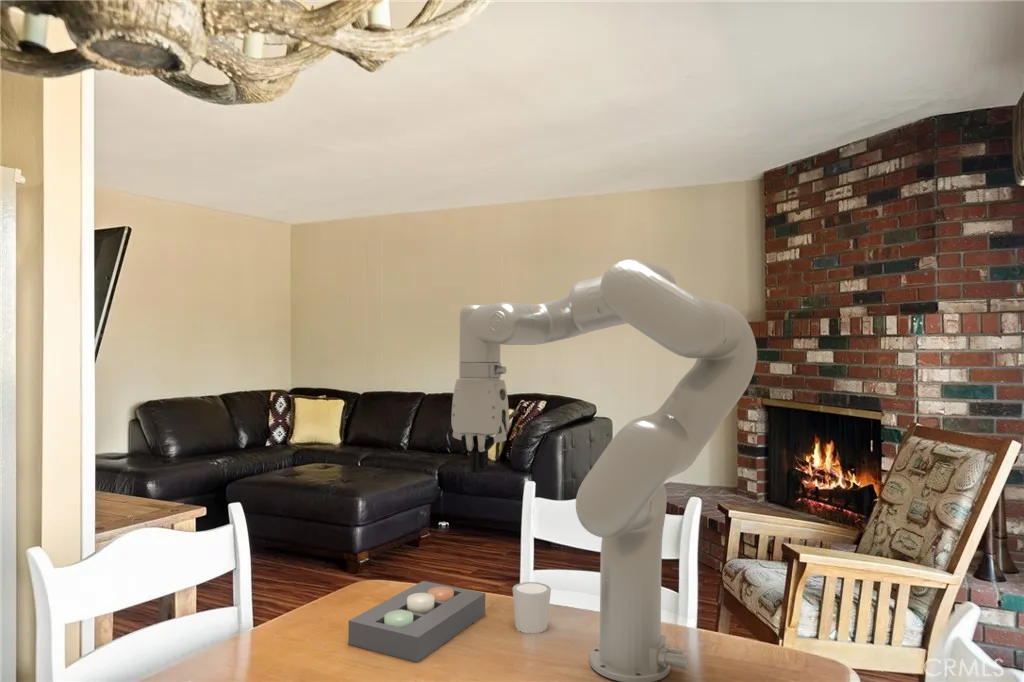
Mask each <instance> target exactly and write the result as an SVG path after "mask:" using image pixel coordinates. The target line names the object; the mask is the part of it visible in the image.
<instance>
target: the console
mask: <svg viewBox="0 0 1024 682" xmlns="http://www.w3.org/2000/svg"><path fill="white" fill-rule="evenodd" d="M434 587H449V588H452V589H453V590H454V597H453V598H451V599H450V600H448V601H446V602H443V601H438V600H434V609H433V610H432V611H430V612H428V613H427V614H420V613H416V612H412V613H413V622H412V623H410V624H409V625H407V626H406V627H404V628H399V627H395V626H391V625H387V624H384V616H385V614H386V613H388V612H391V611H395V610H406V611H407V597H408V596H409V595H411V594H415V593H428V590H429V589H431V588H434ZM410 612H411V611H410ZM482 616H483V617H484V616H486V593H485V592H480V591H476V590H473V589H466V588H462V587H461V588H460V587H455V586H451V585H447V584H441V583H435V582H432V581H431V582H430V581H425V580H422V581H420V582H418V583H416V584H414V585H413V586H410V587H409V588H407V589H405V590H404V591H401V592H400V593H397V594H396V595H394V596H392V597H390V598H388V599H386V600H385V601H383V602H380V603H378V604H377V605H375V606H373V607H371V608H370V609H367V610H366V611H364V612H363V613H362V612H361V614H358V615H356V616H355V617H352V618H350V619H349V620H348V631H347V632H348V641H347V642H348V646H353V647H357V648H360V649H364V650H367V651H372V652H375V653H379V654H383V655H386V656H389V657H390V656H391V657H395V658H399V659H402V660H406V661H410V662H413V663H417V664H418V663H420V661H422V660H424V659H425V658H427V657H428V656H430V655H431V654H432V653H433V652H435V651H436V650H438V649H439V648H441V647H442V646H443V645H445V644H446V643H448V642H449V641H450V640H452V639H453V638H454V636H455V635H456V636H457V635H459V634H460V633H461V631H462V632H463V631H464V630H465V628H466V629H467V628H468V626H469V625H470V626H472V623H473V622H474V623H476V622H477V621H478V620H480V619H481V618H482ZM479 618H480V619H479ZM476 620H477V621H476ZM475 621H476V622H475ZM474 623H473V624H474ZM470 626H469V627H470ZM458 633H459V634H458ZM456 636H455V637H456ZM451 638H452V639H451ZM448 640H449V641H448ZM447 641H448V642H447ZM445 642H446V643H445ZM444 643H445V644H444Z"/></svg>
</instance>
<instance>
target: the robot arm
mask: <svg viewBox="0 0 1024 682" xmlns="http://www.w3.org/2000/svg"><path fill="white" fill-rule="evenodd" d="M626 324H629V325H630V326H631V327H633V328H634V329H636V330H638V331H639V332H640V333H642V334H643V335H645V336H647V337H648V338H650V339H651V340H653V341H654V342H655V343H657V344H658V345H659V346H662V347H663V348H664V349H666V350H667V351H669V352H671V353H673V354H675V355H677V356H680V357H683V358H687V359H696V361H695V362H694V364H693V366H692V367H691V368H689V369H690V370H688V371H687V372H686V374H685V375H684V376H683V377H682V378H681V379H680V381H678V383H677V384H676V386H675V387H674V388H673V391H672V392H671V393H670V394H669V396H668V397H667V398H666V399H665V401H664V402H663V404H662V405H660V407H659V408H658V409H657V410H656V411H655V412H654V413H651V414H648V415H643V416H640V417H637V418H635V419H633V420H630V421H629V422H628V423H626V424H625V425H624V426H623V427H622V428H621V429H619V430H618V432H617V433H616V434H615V436H614V437H612V439H611V441H610V442H609V444H608V445H607V446H606V447H605V449H604V450H603V452H602V454H601V455H600V456H599V457H598V459H597V460H596V462H595V463H594V465H593V466H592V467H591V469H590V470H589V471H588V473H587V474H586V476H585V477H584V478H583V480H582V482H581V484H580V486H579V488H578V490H577V494H576V498H575V511H576V516H577V519H578V521H579V523H580V525H581V526H582V528H584V529H585V531H586V532H588V533H590V534H591V535H593V536H594V537H595V536H596V537H598V538H601V546H600V570H599V571H600V573H599V574H600V581H599V582H600V585H599V591H600V593H599V602H600V604H599V644H598V645H596V646H595V647H593V648H592V650H591V651H590V653H589V664H590V666H591V667H592V669H593V670H594V671H595V672H596V673H598V674H600V675H601V676H602V677H605V678H607V679H610V680H614V681H616V682H657V681H659V680H662V679H664V678H665V677H667V676H668V675H669V674H670V672H671V666H672V667H675V668H677V669H682V670H688V666H689V656H688V655H684V654H685V653H684V649H682V648H677V647H670V645H669V644H667V636H666V635H663V634H661V633H662V632H661V631H662V626H661V625H662V567H663V566H662V563H663V561H662V557H663V556H662V554H663V553H662V551H663V538H664V527H665V519H666V514H667V513H666V512H667V502H668V500H667V497H668V496H667V490H666V486H665V482H666V481H667V480H668V479H670V478H672V477H674V476H677V475H679V474H682V473H683V472H685V471H686V470H688V469H689V468H690V467H691V466H692V465H693V464H694V463H695V461H696V459H697V458H698V456H699V455H700V453H701V452H702V451H703V449H704V448H705V447H706V445H707V444H708V443H709V442H710V440H711V439H712V437H714V435H715V433H716V432H717V430H718V429H719V428H720V427H721V425H722V423H724V421H725V419H726V418H727V416H729V414H730V412H731V411H732V410H733V409H734V407H735V406H736V405H737V403H738V402H739V400H740V399H741V398H742V396H743V395H744V393H745V392H746V390H747V388H748V387H749V385H750V382H751V380H752V377H753V375H754V374H755V373H754V372H755V370H756V365H757V356H758V355H757V353H758V352H757V349H758V348H757V344H756V338H755V336H754V332H753V330H752V328H751V325H750V324H749V322H748V321H747V319H746V318H745V317H744V315H743V314H742V313H741V312H740V311H739V310H737V309H736V308H735V307H733V306H732V305H730V304H727V303H725V302H722V301H717V300H711V299H704V298H701V297H699V296H697V295H695V294H693V293H692V292H690V291H688V290H687V289H685V288H684V287H681V286H680V285H678V284H677V283H676V280H675V278H674V276H673V274H672V273H671V272H670V271H669V270H668V269H666V267H663V266H662V265H659V264H658V263H653V262H650V261H644V260H642V259H636V258H626V259H622V260H620V261H616V262H615V263H613V264H612V265H610V266H609V267H608V268H607V270H606V271H605V272H604V274H602V275H599V276H595V277H592V278H588V279H583V280H580V281H576V282H575V283H574V284H573V285H572V287H570V290H569V295H567V296H564V297H561V298H558V299H554V300H549V301H546V302H541V303H536V304H534V303H533V304H532V303H524V302H512V301H501V302H496V303H492V304H467V305H464V306H462V308H461V309H460V311H459V359H458V360H459V362H458V363H459V365H458V366H459V367H458V368H459V371H458V375H459V377H458V378H457V379H455V384H454V389H453V394H452V405H451V417H450V418H451V428H452V430H453V431H452V437H453V439H456V440H459V441H462V442H463V444H464V445H465V447H466V449H467V451H468V452H469V467H470V473H471V474H479V475H480V474H482V473H486V472H487V470H488V467H489V450H491V449H492V447H493V446H494V445H495V444H497V443H502V442H505V441H507V434H506V432H508V431H509V428H510V411H509V410H510V409H509V399H508V393H507V385H506V382H505V381H506V380H504V379H501V377H502V375H505V374H507V367H506V366H502V362H501V345H503V346H536V345H537V346H538V345H543V344H549V343H553V342H558V341H562V340H566V339H567V340H568V339H571V338H574V337H578V336H580V335H586V334H588V333H591V332H594V331H599V330H604V329H607V328H611V327H616V326H620V325H626Z"/></svg>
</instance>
